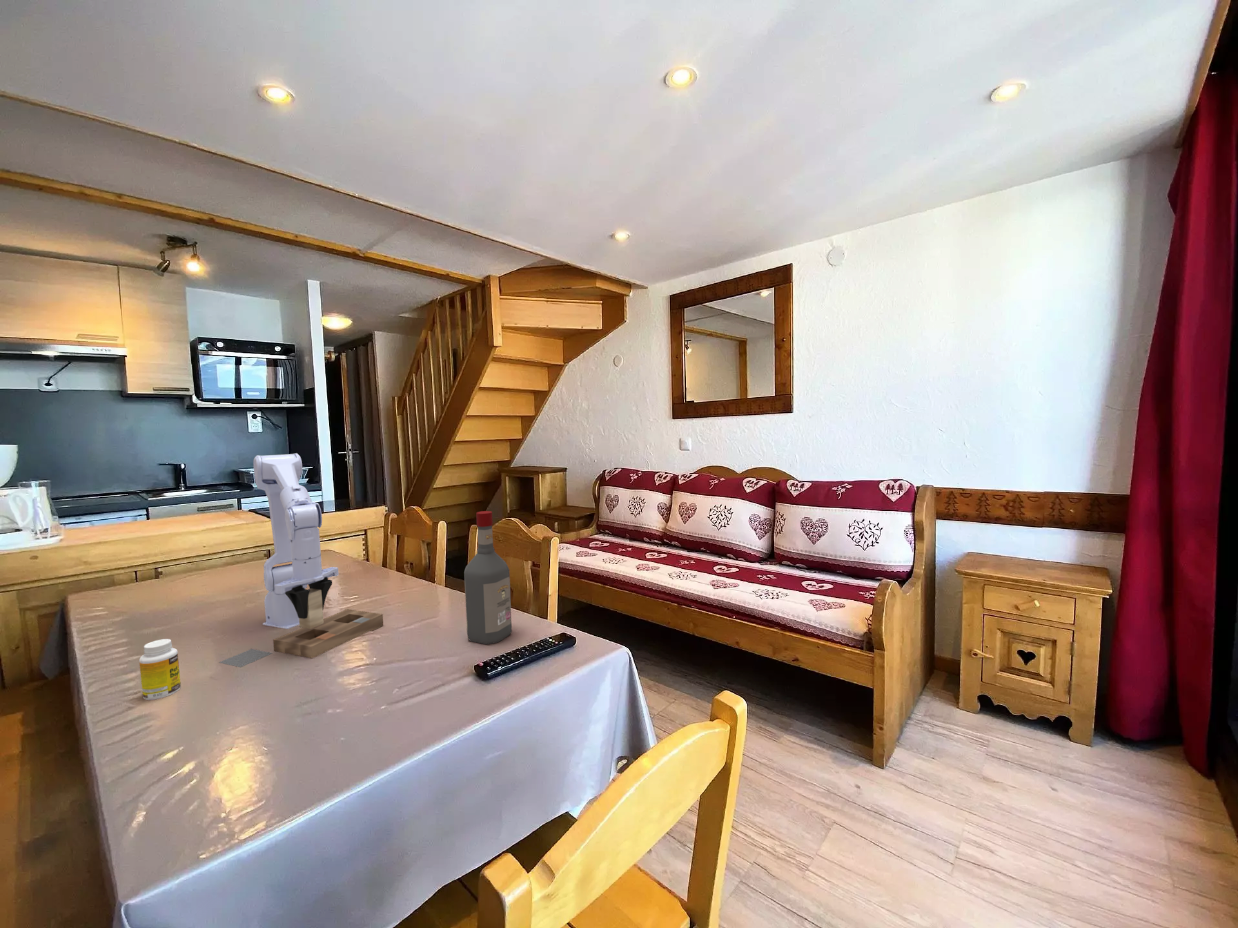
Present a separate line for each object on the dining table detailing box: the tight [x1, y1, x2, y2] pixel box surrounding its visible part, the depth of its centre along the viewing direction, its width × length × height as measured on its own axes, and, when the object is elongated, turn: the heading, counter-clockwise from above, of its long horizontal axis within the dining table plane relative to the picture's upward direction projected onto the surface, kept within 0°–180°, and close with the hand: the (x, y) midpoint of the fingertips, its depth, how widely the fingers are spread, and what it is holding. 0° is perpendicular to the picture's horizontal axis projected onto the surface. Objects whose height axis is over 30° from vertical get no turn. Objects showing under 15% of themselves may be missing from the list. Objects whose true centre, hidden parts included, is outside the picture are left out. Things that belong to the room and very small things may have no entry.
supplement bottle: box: [138, 638, 182, 701], centre depth 100 cm, size 6×6×10 cm
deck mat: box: [218, 648, 273, 668], centre depth 114 cm, size 7×7×1 cm
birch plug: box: [299, 588, 324, 629], centre depth 119 cm, size 3×3×8 cm
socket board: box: [272, 608, 384, 659], centre depth 125 cm, size 12×20×3 cm, turn 159°
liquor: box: [463, 510, 513, 645], centre depth 123 cm, size 9×9×30 cm
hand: (310, 614), depth 120 cm, fingers closed on birch plug, 3 cm apart
